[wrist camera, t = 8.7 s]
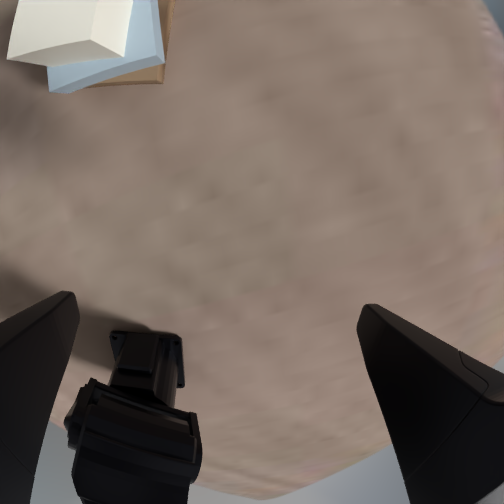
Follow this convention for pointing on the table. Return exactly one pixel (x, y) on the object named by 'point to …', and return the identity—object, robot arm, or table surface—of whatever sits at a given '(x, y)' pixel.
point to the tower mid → (135, 58)
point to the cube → (69, 31)
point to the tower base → (154, 72)
